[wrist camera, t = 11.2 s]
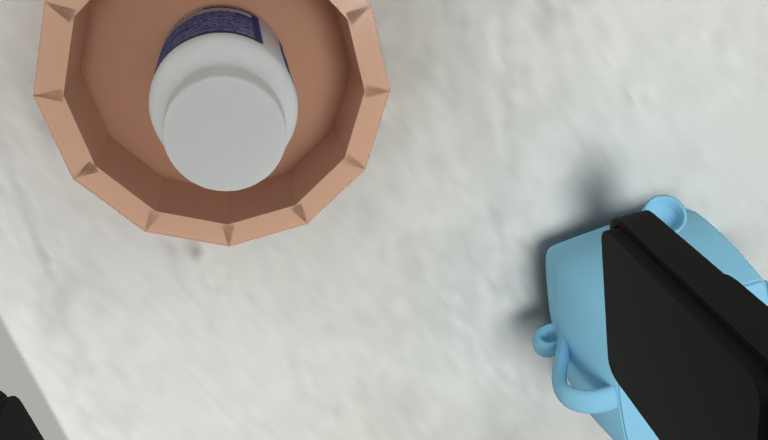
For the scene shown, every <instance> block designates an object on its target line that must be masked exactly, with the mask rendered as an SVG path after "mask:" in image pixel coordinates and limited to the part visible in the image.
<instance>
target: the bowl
mask: <svg viewBox="0 0 768 440" xmlns="http://www.w3.org/2000/svg"><path fill="white" fill-rule="evenodd" d="M212 4H228V5H234V6H238V7H242V8H244V9H247V10H249V11H251V12H253V13H255V14H256V15H258V16H259V17H261V18H262V19H263V20H264V21H265V22H266V23H267V24H268V25H269V26H270V27H271V28H272V30H273V31H274V32H275V34H276V35H277V37H278V39H279V41H280V43H281V45H282V47H283V50H284V53H285V56H286V59H287V63H288V67H289V70H290V73H291V76H292V79H293V82H294V85H295V88H296V94H297V100H298V116H297V122H296V126H295V130H294V132H293V135H292V137H291V139H290V141H289V143H288V144H287V146H286V147H285V150H284V153H283V156H282V158H281V160H280V162H279V164H278V165H277V166H276V168H275V169H274V170H273V171H272V172H271V173H270V174H269V175H268V176H267V177H266V178H265V179H263V180H262V181H260V182H259V183H257V184H255V185H253V186H251V187H248V188H245V189H241V190H236V191H216V190H211V189H207V188H204V187H201V186H199V185H197V184H195V183H193V182H191V181H190V180H188V179H187V178H186V177H184V176H183V175H182V174H181V173H180V172H179V171H178V170H177V169H176V168H175V167H174V165H173V164H172V162H171V161H170V159H169V157H168V155H167V153H166V151H165V148H164V145H163V144H162V142H161V141H160V139H159V138H158V136H157V134H156V132H155V130H154V127H153V125H152V121H151V118H150V112H149V93H150V87H151V83H152V79H153V76H154V72H155V69H156V66H157V63H158V59H159V56H160V53H161V49H162V46H163V44H164V41H165V39H166V37H167V35H168V33H169V31H170V30H171V28H172V27H173V26H174V25H175V23H176V22H177V21H178V20H179V19H181V18H182V17H183V16H185V15H186V14H188V13H189V12H191V11H193V10H195V9H197V8H200V7H203V6H206V5H212ZM389 92H390V90H389V85H388V81H387V76H386V72H385V67H384V63H383V58H382V53H381V49H380V44H379V40H378V35H377V31H376V26H375V22H374V17H373V13H372V8H371V5H370V4H369V3H368V2H367V1H366V0H46V1H45V3H44V12H43V20H42V29H41V37H40V45H39V54H38V62H37V71H36V79H35V87H34V98H35V100H36V102H37V104H38V106H39V108H40V110H41V112H42V114H43V117H44V119H45V121H46V123H47V125H48V127H49V129H50V131H51V133H52V136H53V138H54V140H55V142H56V144H57V146H58V148H59V150H60V152H61V155H62V157H63V159H64V161H65V163H66V165H67V167H68V169H69V171H70V174H71V176H72V178H73V179H74V180H75V181H77V182H78V183H80V184H81V185H82V186H84V187H85V188H86V189H88V190H89V191H90V192H92V193H93V194H95V195H96V196H97V197H99V198H100V199H101V200H103V201H104V202H105V203H107V204H108V205H110V206H111V207H112V208H114V209H115V210H116V211H118V212H119V213H120V214H122V215H123V216H125V217H126V218H127V219H129V220H130V221H131V222H133V223H134V224H136V225H137V226H138V227H140V228H141V229H142V230H144V231H145V232H151V233H157V234H163V235H168V236H174V237H180V238H185V239H191V240H197V241H202V242H208V243H214V244H219V245H225V246H231V245H235V244H238V243H242V242H245V241H249V240H252V239H256V238H259V237H263V236H266V235H270V234H273V233H277V232H280V231H283V230H287V229H290V228H294V227H297V226H301V225H304V224H308V223H309V222H310V221H311V220H312V219H313V218H314V217H315V216H316V215H317V214H318V213H319V212H320V211H321V210H322V209H323V208H324V207H325V206H327V205H328V204H329V203H330V202H331V201H332V200H333V199H334V198H335V197H336V196H337V195H338V194H339V193H340V192H341V191H342V190H343V189H344V188H346V187H347V186H348V185H349V184H350V183H351V182H352V181H353V180H354V179H355V178H356V177H357V176H358V175H359V174H360V173H361V172H362V171H364V170H365V168H366V165H367V162H368V159H369V155H370V152H371V149H372V146H373V143H374V140H375V136H376V133H377V130H378V127H379V124H380V121H381V117H382V114H383V111H384V108H385V105H386V102H387V98H388V95H389Z"/></svg>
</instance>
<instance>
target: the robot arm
mask: <svg viewBox="0 0 768 440" xmlns="http://www.w3.org/2000/svg"><path fill="white" fill-rule="evenodd" d="M601 244H602V262H603V280H604V298H605V316H606V334H607V353H608V362H609V366H610V369H611V372H612V374H613V376H614V378H615V380H616V381H617V383H618V384H619V385H620V387H621V388H622V389H623V391H624V392H625V394H626V395H627V396H628V398H629V399H630V400H631V402H632V403H633V405H634V406H635V407H636V409H637V410H638V411H639V413H640V414H641V415H642V417H643V418H644V420H645V421H646V422H647V424H648V425H649V426H650V428H651V429H652V431H653V432H654V433H655V435H656V436H657V437H658V439H659V440H768V306H767V305H766V304H764V303H763V302H762V301H761V300H760V299H759V298H757V297H756V296H755V295H754V294H753V293H751V292H750V291H749V290H748V289H747V288H746V287H744V286H743V285H742V284H741V283H740V282H738V281H737V280H736V279H734V278H733V277H731V276H730V275H728V274H724V273H723V272H722V271H720V270H719V269H718V268H717V267H716V266H715V265H713V264H712V263H711V262H710V261H709V260H708V259H706V258H705V257H704V256H703V255H702V254H701V253H699V252H698V251H697V250H696V249H695V248H694V247H692V246H691V245H690V244H689V243H688V242H687V241H685V240H684V239H683V238H682V237H681V236H679V235H678V234H677V233H676V232H675V231H674V230H672V229H671V228H670V227H669V226H668V225H667V224H665V223H664V222H663V221H662V220H661V219H660V218H658V217H657V216H656V215H655V214H654V213H652V212H651V211H649V210H644V211H640V212H637V213H633V214H630V215H626V216H622V217H619V218H615V219H613V220H612V221H611V224H610V229H609V230H606V231H604V232H603V233H602V236H601ZM0 440H44V439H43V437H42V435H41V434H40V432H39V431H38V429H37V427H36V426H35V424H34V422H33V421H32V419H31V417H30V416H29V414H28V412H27V411H26V409H25V407H24V406H23V404H22V403H21V401H20V400H19V398H17V397H16V396H10V397H7V396H6V395H5V394H4V393H3V392H1V391H0Z"/></svg>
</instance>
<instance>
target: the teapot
mask: <svg viewBox="0 0 768 440" xmlns="http://www.w3.org/2000/svg"><path fill="white" fill-rule="evenodd" d="M644 210H649V211H651V212H652V213H654V214H655V215H656V216H657V217H658V218H660V219H661V220H662V221H663V222H664V223H665V224H667V225H668V226H669V227H670V228H671V229H672V230H674V231H675V232H676V233H677V234H678V235H679V236H681V237H682V238H683V239H684V240H685V241H687V242H688V243H689V244H690V245H691V246H692V247H694V248H695V249H696V250H697V251H698V252H699V253H701V254H702V255H703V256H704V257H705V258H706V259H708V260H709V261H710V262H711V263H712V264H713V265H715V266H716V267H717V268H718V269H719V270H720V271H722V272H723V273H724V274H728V275H730V276H731V277H733V278H734V279H736V280H737V281H738V282H740V283H741V284H742V285H743V286H744V287H746V288H747V289H748V290H749V291H750V292H751V293H753V294H754V295H755V296H756V297H757V298H759V299H760V300H761V301H762V302H763V303H764V304H766V305H767V306H768V281H765V280H763V279H762V278H761V276H760V275H759V274H758V273H757V272H756V270H755V269H754V268H753V267H752V266H751V265H750V264H749V262H748V261H747V260H746V259H745V258H744V257H743V256H742V254H741V253H740V252H739V251H738V250H737V249H736V248H735V247H734V246H733V245H732V244H731V242H730V241H729V240H728V239H727V238H725V237H724V236H723V235H722V234H721V233H720V232H719V231H718V230H717V229H716V228H715V227H714V226H713V225H711V224H710V223H709V222H708V221H707V220H705V219H704V218H703V217H702V216H700V215H699V214H698V213H696V212H694V211H692V210H689V209H686V208H685V207H684V206H683V204H682V203H681V202H680V201H679V200H677V199H676V198H674V197H671V196H668V195H659V196H655V197H653V198H651V199H650V200H649V201H648V202H647V203H646V205H645V206H644V208H643V209H642V211H644ZM609 229H610V225H607V226H604V227H601V228H598V229H595V230H593V231H590V232H587V233H584V234H581V235H579V236H576V237H573V238H570V239H568V240H565V241H563V242H560V243H558V244H555V245H553V246H552V247H550V248H549V249H548V250H547V254H546V281H547V292H548V302H549V310H550V317H551V322H552V323H551V324H546V325H544V326H542V327H540V328H539V329H538V330H536V332H535V334H534V336H533V347H534V349H535V351H536V352H537V353H538V354H539V355H540V356H543V357H552V356H555V357H554V362H553V368H552V384H553V389H554V392H555V394H556V396H557V398H558V399H559V401H560V402H561V403H562V404H563V405H564V406H566V407H567V408H569V409H571V410H574V411H576V412H581V413H588V414H591V415H592V417H593V418H594V419H595V420H596V421H597V422H598V424H599V425H600V426H601V427H602V428H603V429H604V430H605V431H606V432H607V433H608V434H609V435H610V437H611V438H612V439H613V440H659V439H658V437H657V436H656V435H655V433H654V432H653V431H652V429H651V428H650V426H649V425H648V424H647V422H646V421H645V420H644V418H643V417H642V415H641V414H640V413H639V411H638V410H637V409H636V407H635V406H634V405H633V403H632V402H631V400H630V399H629V398H628V396H627V395H626V394H625V392H624V391H623V389H622V388H621V387H620V385H619V384H618V383H617V381H616V380H615V378H614V376H613V374H612V372H611V369H610V366H609V362H608V353H607V334H606V316H605V298H604V280H603V262H602V244H601V236H602V233H603V232H604V231H606V230H609ZM567 378H568V380H569V383H570V385H571V386H572V387H571V386H569V385H568V384H567Z"/></svg>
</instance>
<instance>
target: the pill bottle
mask: <svg viewBox="0 0 768 440" xmlns="http://www.w3.org/2000/svg"><path fill="white" fill-rule="evenodd" d="M149 112H150V118H151V121H152V125H153V127H154V130H155V132H156V134H157V136H158V138H159V139H160V141H161V142H162V144H163V145H164V148H165V151H166V153H167V155H168V157H169V159H170V161H171V162H172V164H173V165H174V167H175V168H176V169H177V170H178V171H179V172H180V173H181V174H182V175H183V176H184V177H186V178H187V179H188V180H190V181H191V182H193V183H195V184H197V185H199V186H201V187H204V188H207V189H211V190H216V191H236V190H241V189H245V188H248V187H251V186H253V185H255V184H257V183H259V182H260V181H262V180H263V179H265V178H266V177H267V176H268V175H269V174H270V173H271V172H272V171H273V170H274V169H275V168H276V166H277V165H278V164H279V162H280V160H281V158H282V156H283V153H284V150H285V147H286V146H287V144H288V143H289V141H290V139H291V137H292V135H293V132H294V130H295V126H296V122H297V116H298V100H297V94H296V88H295V85H294V82H293V79H292V76H291V73H290V70H289V67H288V63H287V59H286V56H285V53H284V50H283V47H282V45H281V43H280V41H279V39H278V37H277V35H276V34H275V32H274V31H273V30H272V28H271V27H270V26H269V25H268V24H267V23H266V22H265V21H264V20H263V19H262V18H261V17H259V16H258V15H256V14H255V13H253V12H251V11H249V10H247V9H244V8H242V7H238V6H234V5H228V4H212V5H206V6H203V7H200V8H197V9H195V10H193V11H191V12H189V13H188V14H186V15H185V16H183V17H182V18H181V19H179V20H178V21H177V22H176V23H175V25H174V26H173V27H172V28H171V30H170V31H169V33H168V35H167V37H166V39H165V41H164V44H163V46H162V49H161V53H160V56H159V59H158V63H157V66H156V69H155V72H154V76H153V79H152V83H151V87H150V93H149Z"/></svg>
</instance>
